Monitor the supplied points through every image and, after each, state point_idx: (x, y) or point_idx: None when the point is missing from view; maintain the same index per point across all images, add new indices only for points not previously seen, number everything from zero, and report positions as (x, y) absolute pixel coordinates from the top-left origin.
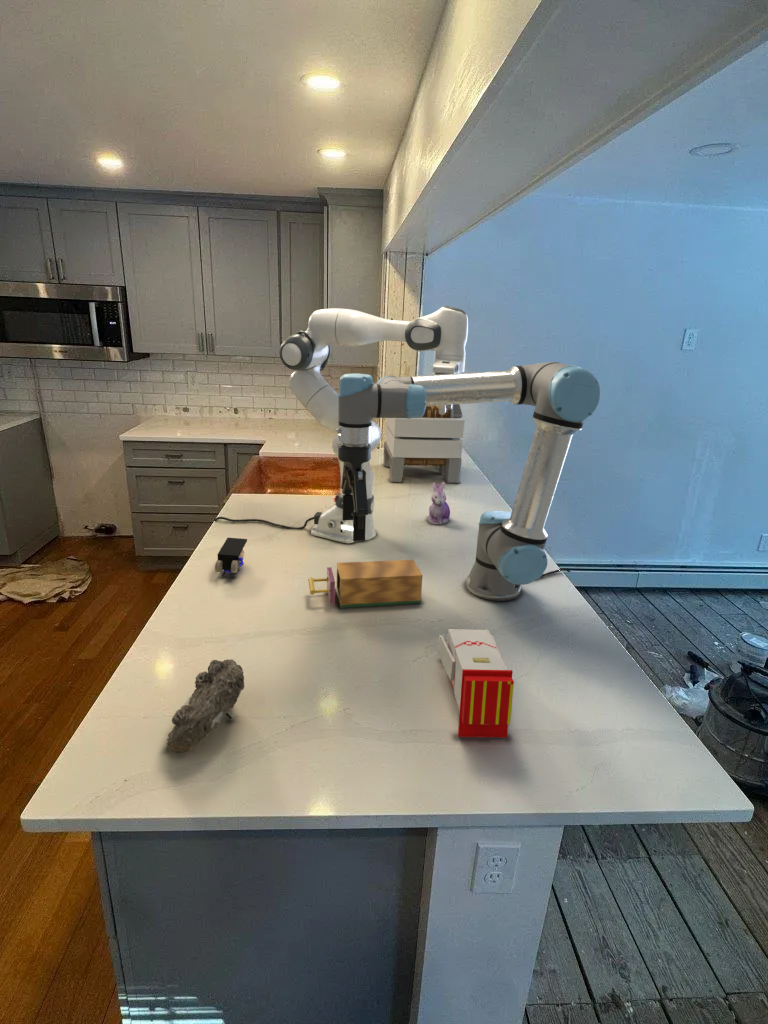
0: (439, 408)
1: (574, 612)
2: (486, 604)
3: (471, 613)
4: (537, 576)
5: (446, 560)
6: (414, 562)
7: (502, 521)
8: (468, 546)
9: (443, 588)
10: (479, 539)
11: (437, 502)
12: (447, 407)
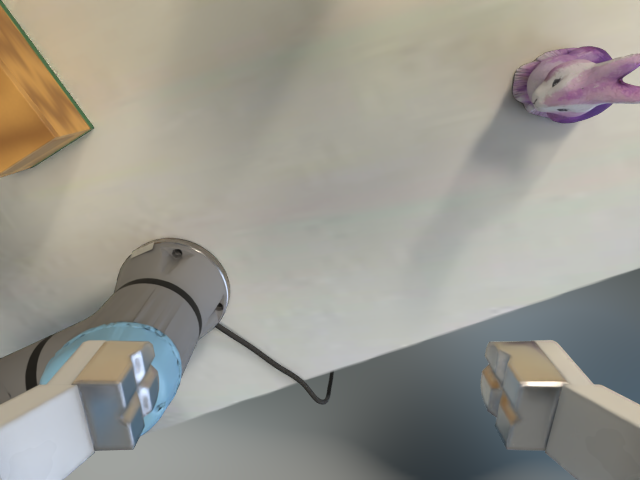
0: (51, 383)
1: None
2: (106, 284)
3: (56, 265)
4: None
5: (269, 171)
6: (39, 145)
7: None
8: (378, 205)
9: (124, 196)
10: (95, 315)
11: (534, 92)
12: (497, 370)
